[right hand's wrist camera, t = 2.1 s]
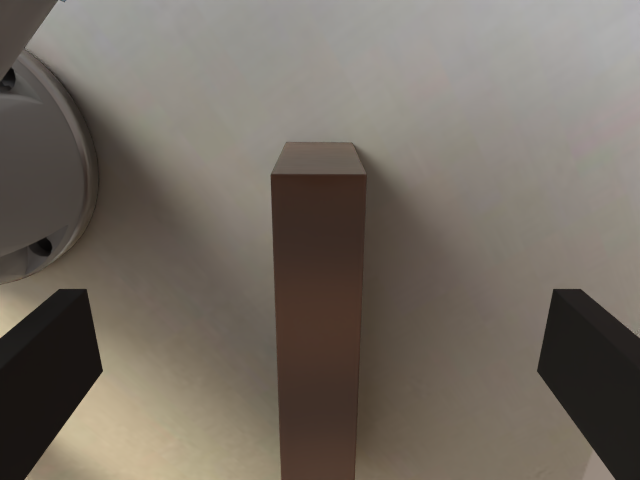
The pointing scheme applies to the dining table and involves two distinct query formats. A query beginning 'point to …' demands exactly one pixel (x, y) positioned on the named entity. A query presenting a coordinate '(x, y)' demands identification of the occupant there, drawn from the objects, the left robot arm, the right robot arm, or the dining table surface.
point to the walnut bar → (318, 305)
